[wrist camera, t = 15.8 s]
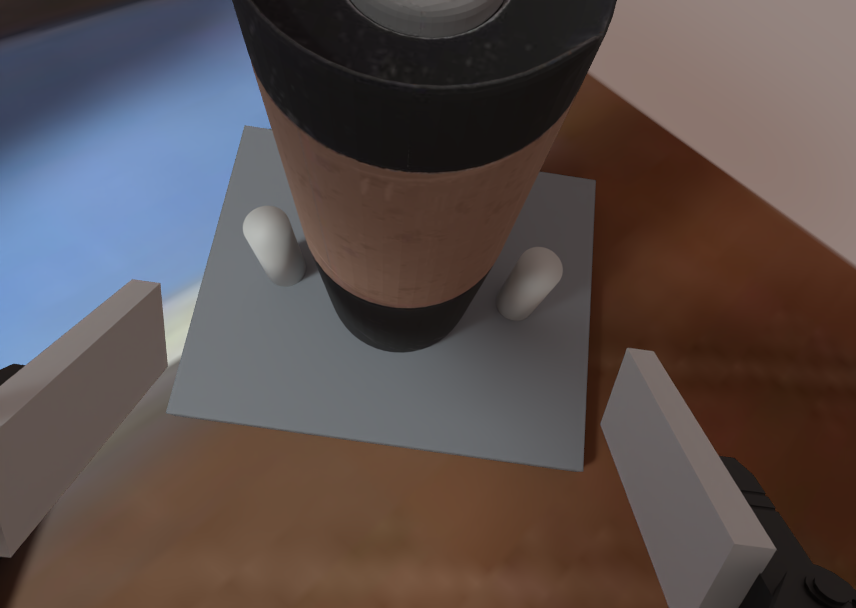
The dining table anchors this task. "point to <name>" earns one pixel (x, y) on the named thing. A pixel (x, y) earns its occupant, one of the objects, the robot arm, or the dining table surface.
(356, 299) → the travel mug
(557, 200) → the cradle
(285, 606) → the dining table surface
